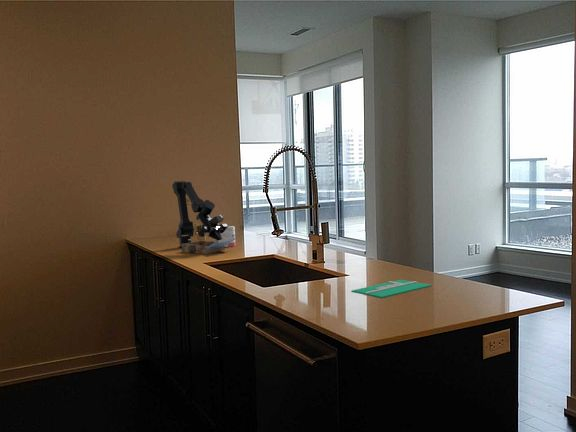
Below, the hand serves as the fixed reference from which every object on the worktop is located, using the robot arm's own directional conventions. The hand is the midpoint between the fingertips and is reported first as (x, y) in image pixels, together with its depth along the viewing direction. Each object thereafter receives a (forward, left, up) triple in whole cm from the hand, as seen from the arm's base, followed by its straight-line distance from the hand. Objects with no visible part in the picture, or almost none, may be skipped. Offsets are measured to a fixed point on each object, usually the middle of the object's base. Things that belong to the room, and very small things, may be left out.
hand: (221, 241), depth 324 cm
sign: (+123, -45, -7) cm, 132 cm away
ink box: (-14, +20, -6) cm, 25 cm away
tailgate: (-6, 0, -4) cm, 7 cm away
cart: (-15, 0, -6) cm, 16 cm away
